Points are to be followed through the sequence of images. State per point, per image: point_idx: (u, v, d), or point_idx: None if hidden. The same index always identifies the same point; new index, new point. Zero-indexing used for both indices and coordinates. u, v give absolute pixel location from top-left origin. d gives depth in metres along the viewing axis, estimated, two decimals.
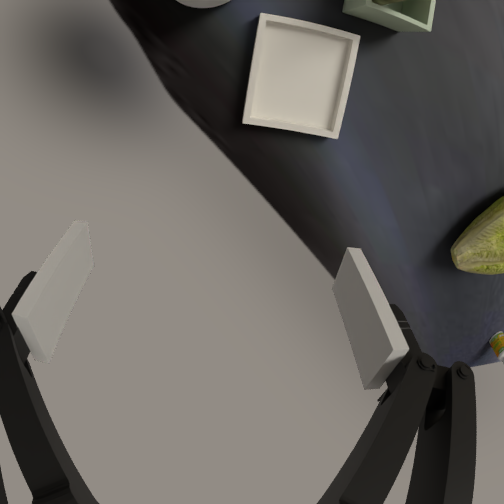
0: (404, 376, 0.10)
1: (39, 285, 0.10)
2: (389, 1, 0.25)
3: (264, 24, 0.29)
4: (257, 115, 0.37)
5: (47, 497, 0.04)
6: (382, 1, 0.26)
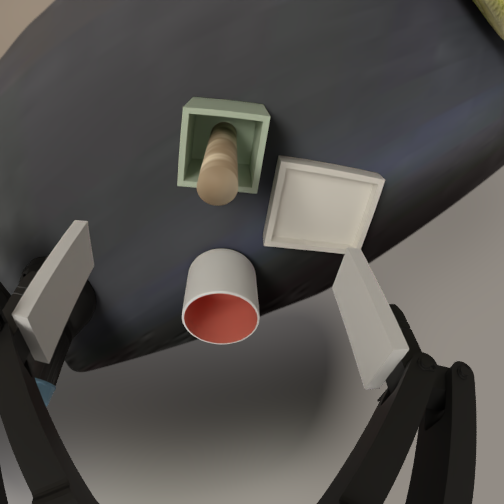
0: (404, 376, 0.10)
1: (39, 285, 0.10)
2: None
3: (275, 242, 0.43)
4: (353, 239, 0.45)
5: (47, 497, 0.04)
6: None
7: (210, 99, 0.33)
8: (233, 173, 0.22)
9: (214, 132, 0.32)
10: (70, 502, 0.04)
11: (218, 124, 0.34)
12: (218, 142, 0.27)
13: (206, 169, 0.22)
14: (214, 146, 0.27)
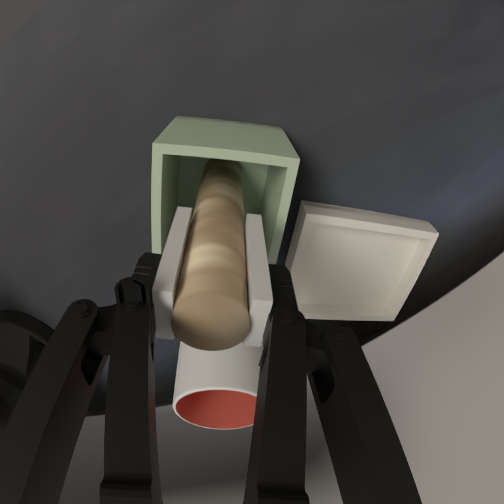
0: (271, 338, 0.10)
1: (172, 263, 0.12)
2: None
3: None
4: (388, 301, 0.34)
5: (121, 485, 0.05)
6: None
7: (202, 120, 0.22)
8: (240, 305, 0.12)
9: (207, 177, 0.21)
10: (144, 500, 0.05)
11: (214, 159, 0.23)
12: (212, 208, 0.17)
13: (186, 298, 0.11)
14: (205, 219, 0.16)
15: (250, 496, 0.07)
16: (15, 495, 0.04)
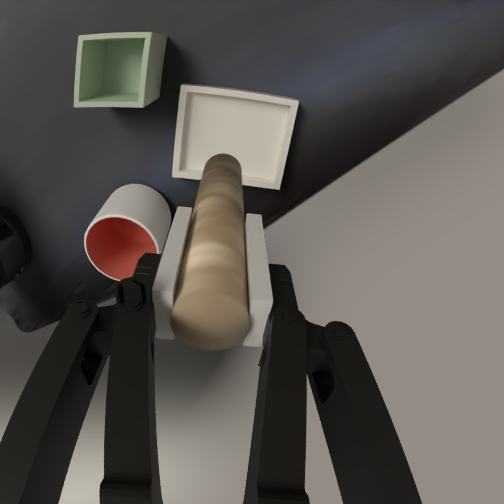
0: (271, 338, 0.10)
1: (172, 263, 0.12)
2: None
3: (183, 173, 0.39)
4: (273, 172, 0.42)
5: (120, 485, 0.05)
6: None
7: None
8: (239, 304, 0.12)
9: (207, 176, 0.21)
10: (144, 500, 0.05)
11: (214, 158, 0.23)
12: (212, 207, 0.16)
13: (186, 297, 0.11)
14: (204, 218, 0.16)
15: (250, 496, 0.07)
16: (15, 495, 0.04)
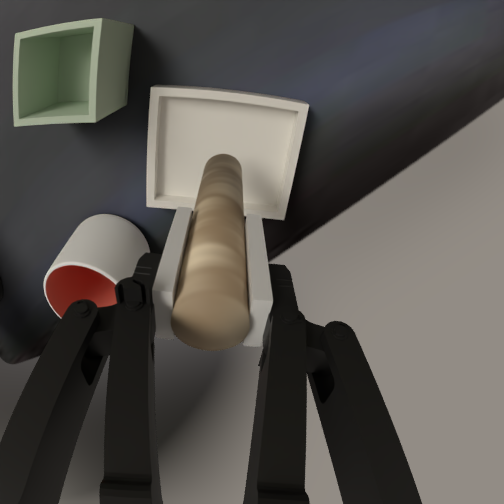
0: (271, 338, 0.10)
1: (172, 263, 0.12)
2: None
3: (160, 202, 0.31)
4: (276, 197, 0.33)
5: (121, 485, 0.05)
6: None
7: None
8: (240, 304, 0.12)
9: (207, 177, 0.21)
10: (144, 500, 0.05)
11: (214, 158, 0.23)
12: (212, 207, 0.16)
13: (186, 297, 0.11)
14: (205, 218, 0.16)
15: (250, 496, 0.07)
16: (15, 495, 0.04)
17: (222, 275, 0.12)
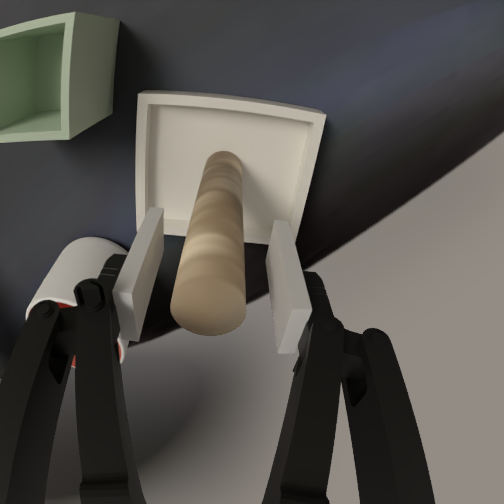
0: (309, 344, 0.10)
1: (135, 264, 0.12)
2: None
3: None
4: None
5: (99, 485, 0.05)
6: None
7: None
8: (237, 289, 0.12)
9: (208, 172, 0.21)
10: (123, 498, 0.05)
11: (215, 155, 0.24)
12: (212, 200, 0.17)
13: (186, 282, 0.12)
14: (205, 211, 0.16)
15: (271, 496, 0.07)
16: (1, 498, 0.04)
17: (220, 262, 0.13)
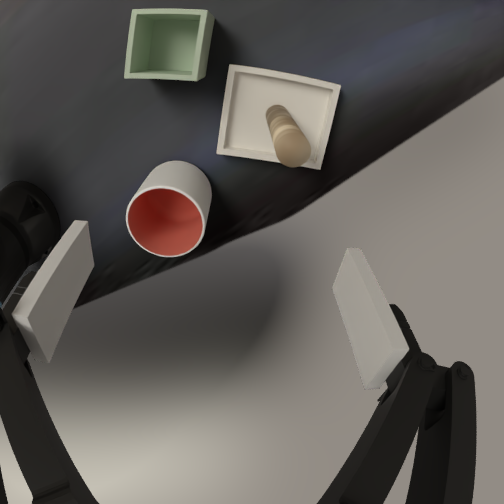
0: (404, 376, 0.10)
1: (39, 285, 0.10)
2: None
3: (227, 150, 0.40)
4: (314, 153, 0.42)
5: (47, 497, 0.04)
6: None
7: None
8: (307, 140, 0.25)
9: (273, 111, 0.35)
10: (70, 502, 0.04)
11: (273, 106, 0.37)
12: (283, 118, 0.30)
13: (285, 135, 0.25)
14: (282, 120, 0.30)
15: None
16: None
17: (298, 131, 0.26)
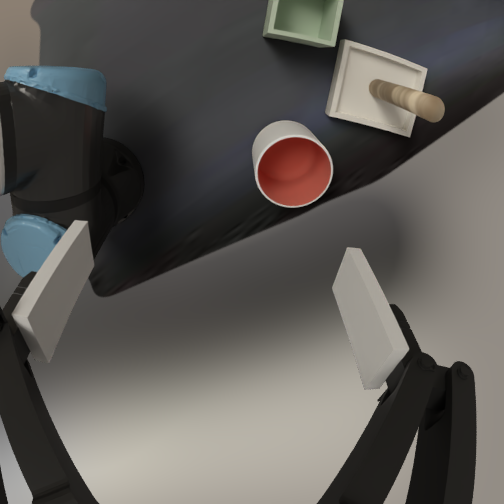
0: (404, 376, 0.10)
1: (39, 285, 0.10)
2: None
3: (339, 113, 0.42)
4: (403, 123, 0.44)
5: (47, 497, 0.04)
6: None
7: None
8: None
9: (385, 83, 0.36)
10: (70, 502, 0.04)
11: (377, 80, 0.39)
12: (406, 87, 0.32)
13: (428, 96, 0.27)
14: (407, 88, 0.31)
15: None
16: None
17: None
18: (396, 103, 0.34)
